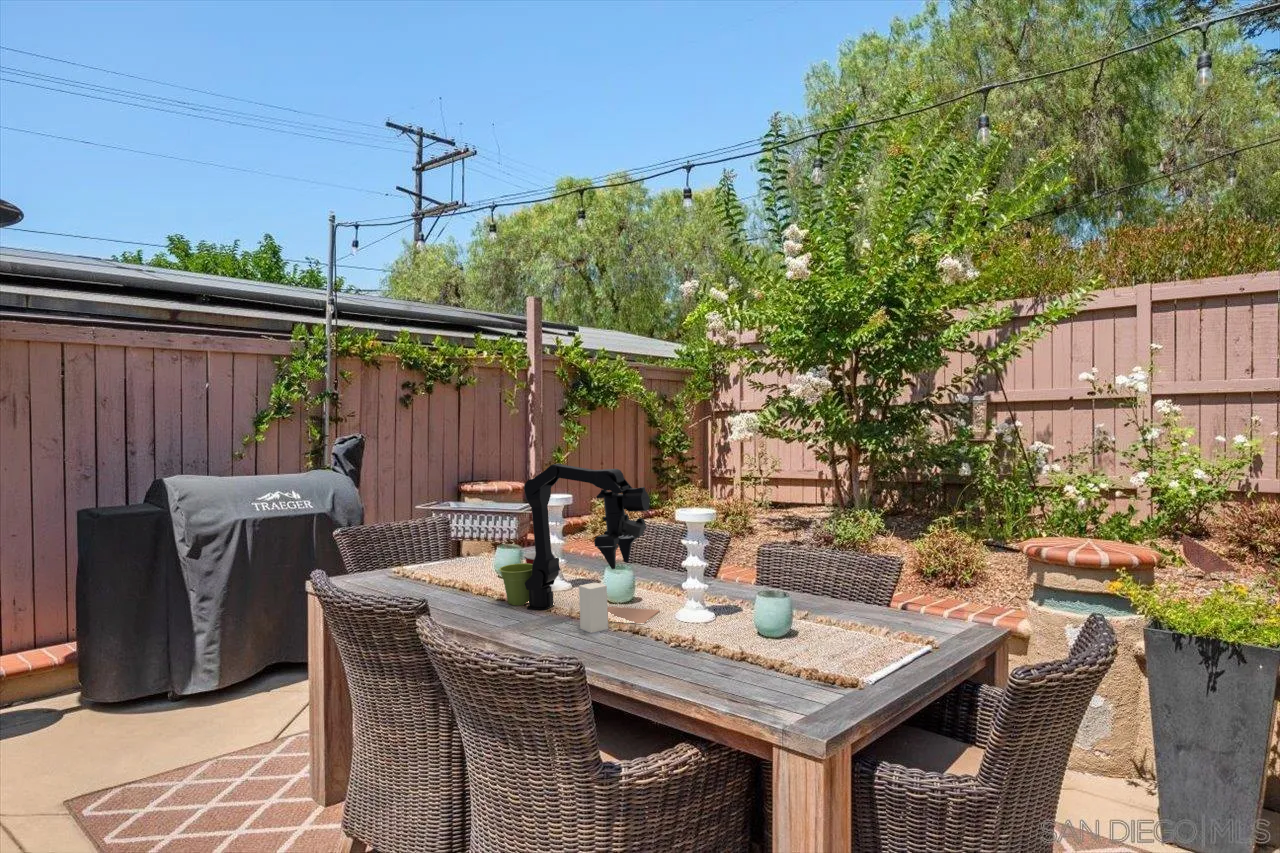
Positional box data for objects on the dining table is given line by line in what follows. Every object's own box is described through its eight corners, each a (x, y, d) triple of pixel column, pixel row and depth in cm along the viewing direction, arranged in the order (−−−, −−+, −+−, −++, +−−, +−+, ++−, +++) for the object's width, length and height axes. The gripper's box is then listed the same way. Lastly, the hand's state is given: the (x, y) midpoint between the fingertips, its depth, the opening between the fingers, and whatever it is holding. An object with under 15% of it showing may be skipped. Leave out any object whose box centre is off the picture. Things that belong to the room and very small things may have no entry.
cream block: (580, 628, 218) (578, 585, 218) (597, 624, 222) (595, 582, 221) (591, 633, 214) (589, 589, 214) (608, 629, 217) (606, 585, 217)
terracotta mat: (590, 620, 226) (590, 619, 226) (609, 608, 239) (609, 606, 239) (643, 624, 220) (643, 623, 220) (659, 611, 234) (659, 610, 234)
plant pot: (496, 601, 251) (494, 566, 251) (532, 596, 256) (530, 561, 256) (506, 610, 240) (504, 573, 240) (543, 604, 245) (542, 568, 245)
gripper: (626, 516, 219) (632, 572, 219) (652, 506, 236) (657, 558, 236) (590, 517, 223) (596, 572, 224) (619, 508, 241) (624, 559, 241)
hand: (620, 565), depth 231 cm, fingers open, 9 cm apart
